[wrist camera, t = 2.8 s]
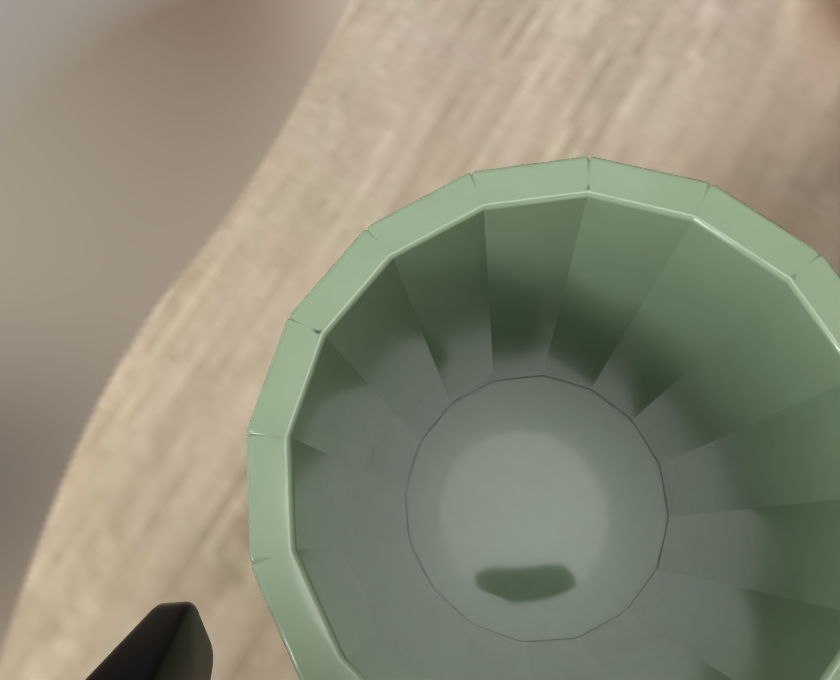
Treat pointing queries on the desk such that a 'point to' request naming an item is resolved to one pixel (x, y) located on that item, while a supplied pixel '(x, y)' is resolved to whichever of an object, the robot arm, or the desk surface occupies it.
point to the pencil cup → (557, 440)
